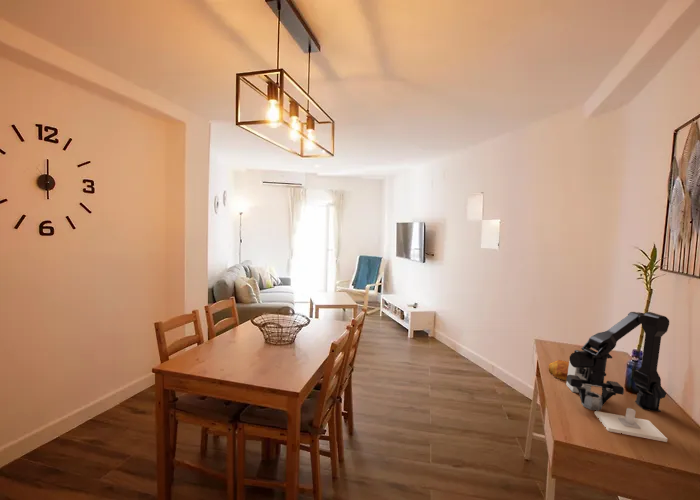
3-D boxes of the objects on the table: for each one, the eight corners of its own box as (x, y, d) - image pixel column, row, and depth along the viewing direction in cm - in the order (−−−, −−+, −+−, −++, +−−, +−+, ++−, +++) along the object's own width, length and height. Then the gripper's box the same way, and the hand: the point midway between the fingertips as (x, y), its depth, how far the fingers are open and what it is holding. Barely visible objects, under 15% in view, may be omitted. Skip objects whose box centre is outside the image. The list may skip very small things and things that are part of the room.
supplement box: (590, 395, 156) (594, 367, 155) (572, 392, 158) (575, 364, 156) (583, 387, 163) (587, 360, 162) (565, 384, 165) (569, 358, 163)
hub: (596, 404, 148) (598, 392, 148) (603, 412, 142) (605, 400, 142) (579, 401, 150) (581, 389, 149) (585, 408, 144) (587, 397, 143)
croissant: (550, 371, 184) (550, 356, 184) (586, 377, 174) (586, 361, 175) (545, 379, 173) (544, 363, 173) (583, 386, 163) (582, 369, 163)
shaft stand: (647, 423, 136) (650, 406, 135) (667, 442, 124) (670, 423, 124) (594, 413, 140) (596, 397, 140) (608, 431, 129) (610, 413, 128)
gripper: (613, 363, 150) (608, 398, 151) (564, 356, 154) (560, 390, 156) (627, 374, 139) (621, 412, 141) (573, 366, 144) (568, 403, 145)
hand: (591, 404), depth 146 cm, fingers closed on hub, 6 cm apart
